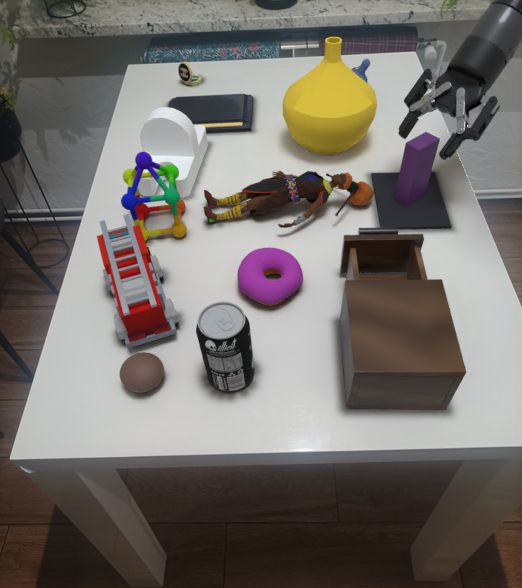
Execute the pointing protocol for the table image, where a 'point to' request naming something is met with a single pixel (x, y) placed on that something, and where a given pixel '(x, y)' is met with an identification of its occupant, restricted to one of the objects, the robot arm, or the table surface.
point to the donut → (268, 263)
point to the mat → (415, 216)
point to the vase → (329, 105)
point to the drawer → (382, 255)
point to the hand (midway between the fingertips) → (421, 147)
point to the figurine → (288, 195)
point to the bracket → (173, 148)
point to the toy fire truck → (135, 286)
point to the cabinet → (399, 345)
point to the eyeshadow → (188, 74)
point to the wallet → (217, 111)
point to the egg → (141, 372)
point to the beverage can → (226, 345)
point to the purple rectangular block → (416, 168)
